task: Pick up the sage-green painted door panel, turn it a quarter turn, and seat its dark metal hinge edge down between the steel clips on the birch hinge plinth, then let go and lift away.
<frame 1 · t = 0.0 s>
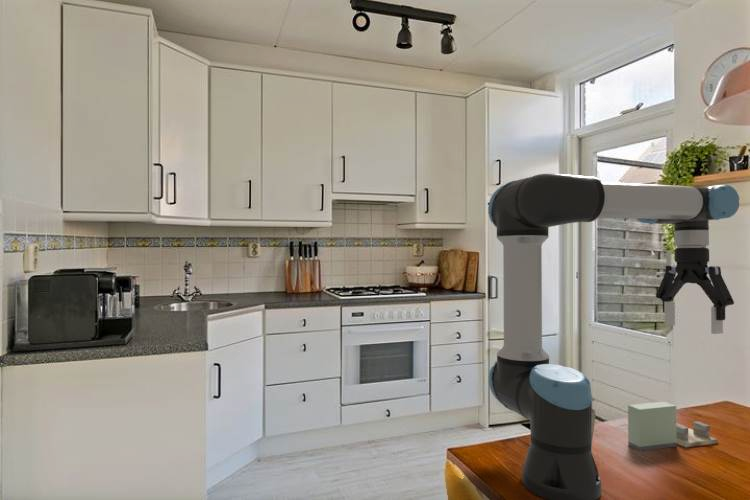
hand: (692, 329, 123), 28 cm above the table, fingers open, 13 cm apart
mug: (579, 455, 113), on the table
door panel: (652, 445, 118), on the table
hinge bracket: (673, 433, 126), on the table
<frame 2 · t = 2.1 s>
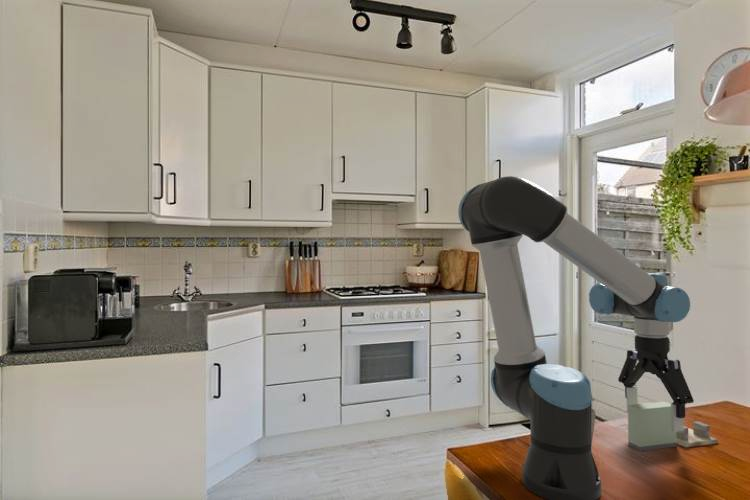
hand: (653, 421, 118), 6 cm above the table, fingers open, 13 cm apart
nothing on the table moved.
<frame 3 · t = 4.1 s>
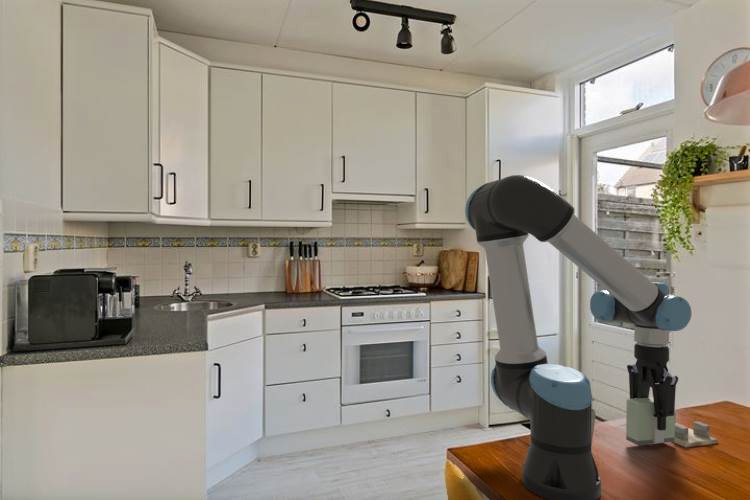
hand: (650, 438, 118), 2 cm above the table, fingers closed on door panel, 4 cm apart
door panel: (650, 440, 118), point 1 cm above the table, touching gripper
everything else where it was.
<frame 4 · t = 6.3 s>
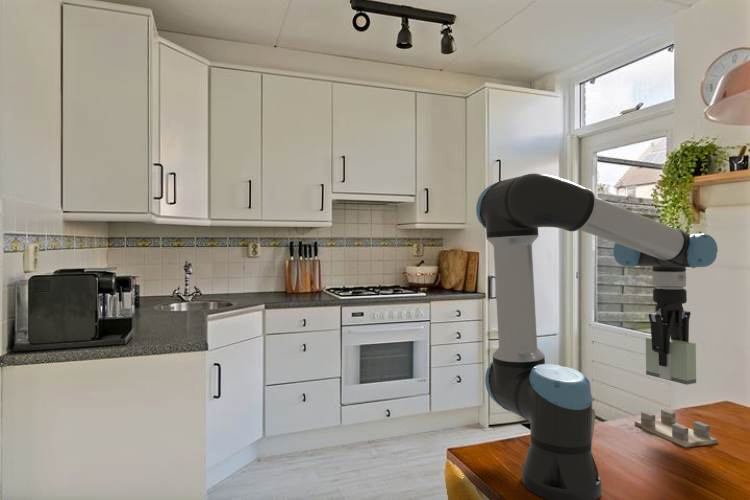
hand: (670, 377, 124), 15 cm above the table, fingers closed on door panel, 4 cm apart
door panel: (670, 378, 125), point 15 cm above the table, touching gripper
everything else where it was.
when the fingers open (2 cm above the table, at t = 8.5 s): door panel stays where it is, resting on hinge bracket.
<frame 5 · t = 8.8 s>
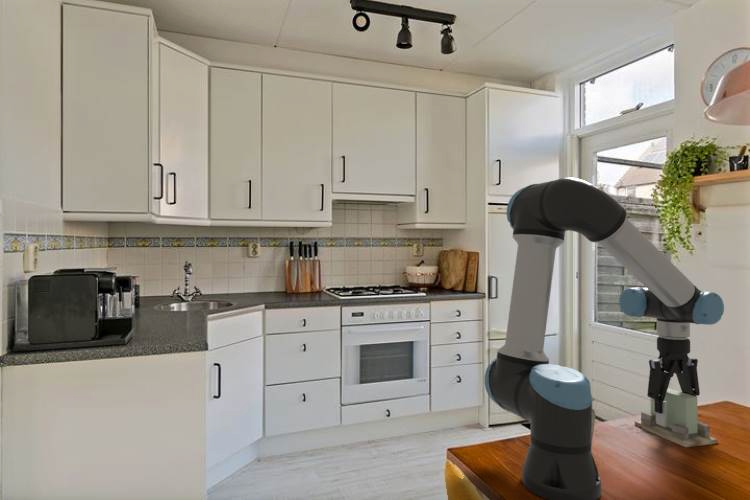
hand: (673, 423, 126), 3 cm above the table, fingers open, 7 cm apart
door panel: (673, 429, 126), point 1 cm above the table, touching hinge bracket
everything else where it was.
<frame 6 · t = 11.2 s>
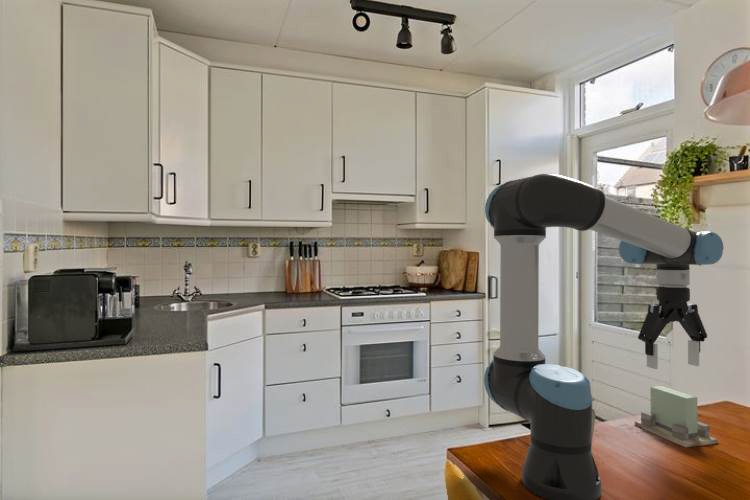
hand: (673, 366, 126), 18 cm above the table, fingers open, 13 cm apart
nothing on the table moved.
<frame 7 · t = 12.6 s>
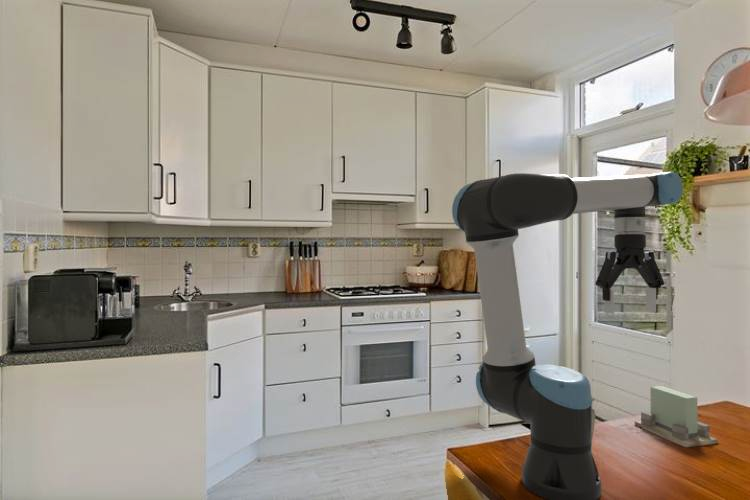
hand: (630, 312, 129), 32 cm above the table, fingers open, 13 cm apart
nothing on the table moved.
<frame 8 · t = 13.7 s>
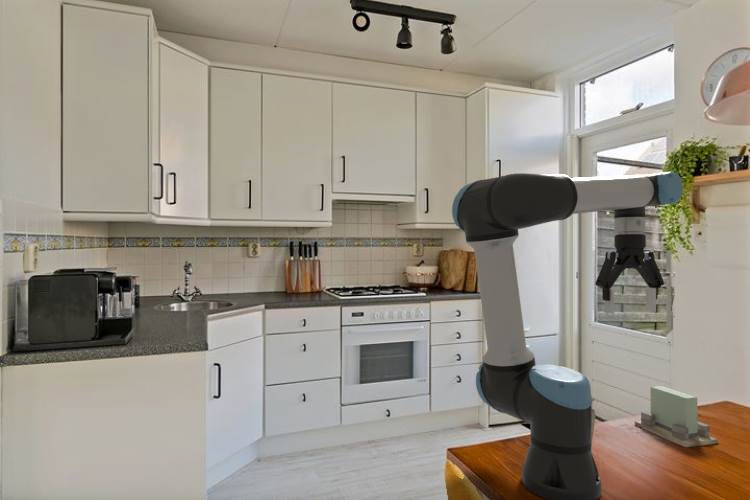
hand: (630, 312, 129), 32 cm above the table, fingers open, 13 cm apart
nothing on the table moved.
at the end: door panel 0.2 cm off-centre on the hinge bracket, point 1.0 cm above the hinge bracket's base; door panel tilted 0°; the gripper is holding nothing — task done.
